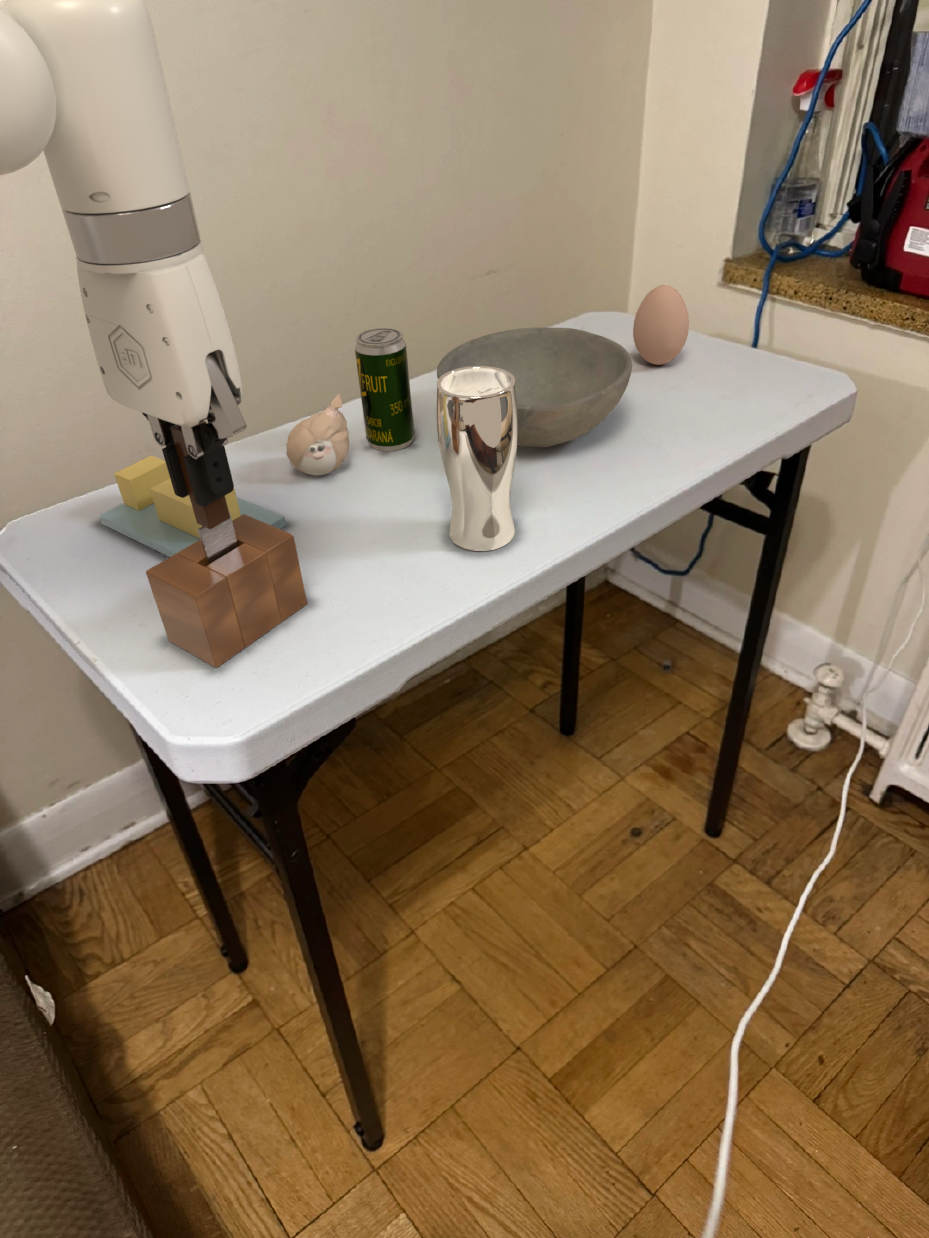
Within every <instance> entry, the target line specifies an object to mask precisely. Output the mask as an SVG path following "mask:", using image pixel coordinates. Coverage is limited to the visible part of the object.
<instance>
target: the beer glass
mask: <svg viewBox="0 0 929 1238" xmlns="http://www.w3.org/2000/svg"><path fill="white" fill-rule="evenodd" d="M436 427H437V428H436V429H437V439H438V446H439V451H440V456H441V460H442V465H443V469H444V472H445V473H444V474H445V477H446V480H447V483H448V488H449V492H450V498H451V520H450V523H449V537H450V540H451V542H453V544H455V545H456V546H457V547H459V548H462V549H464V550H468V551H472V552H489V551H494V550H498V549H500V548H502V547H505V546H506V545H507V544H509V543H510V542H511V541H512V540H513V539H514V537H515V533H516V530H515V523H514V519H513V515H512V510H511V500H510V498H511V497H510V496H511V488H512V483H513V475H514V471H515V465H516V459H517V453H518V446H519V445H518V410H517V399H516V389H515V378H514V376H513V375H512V374H511V373H510V372H508V371H506V370H503V369H500V368H496V367H489V366H470V367H463V368H458V369H455V370H452V371H449V372H447V373H445V374H443V375H442V376H441V377H440V378H439V379H438V378H437V380H436Z"/></svg>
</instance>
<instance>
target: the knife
mask: <svg viewBox="0 0 929 1238" xmlns="http://www.w3.org/2000/svg"><path fill="white" fill-rule="evenodd" d="M207 423H208V422H207V420H204V421H202V422H199V423H198V424H197V426H198V430H200V429H201V427H202V426H203V425H204V424H207ZM170 429H171V433H172V437H173V440H174V444H175V447H176V451H177V454H178V458H179V461H180V465H181V468H182V472H183V475H184V479H185V482H186V486H187V490H188V493H189V497H190V500H191V504H192V507H193V511H194V515H195V518H196V522H197V524H199V525H201V526H202V527H200V528H199V529H197V530H198V534H199V537H200V541H201V544H202V548H203V551H204V555H205V558H206V562H207V565H209V564H211V563H212V562H214V561H216V560H217V559H219V558H221V557H222V556H224V555H226V554H227V553H229V552H231V551H232V550H234V549H236V548H237V547H238V543H237V539H236V535H235V531H234V527H233V523H232V519H231V515H230V513H229V510H228V506H227V502H226V499H225V496H223V497H221V498H220V499H218V500H216V501H214V502H212V503H211V504H209V505H207V506H205V507H202V506H200V505H198V504H196V501H195V498H194V494H193V491H192V487H191V483H190V480H189V476H188V473H187V469H186V465H185V462H184V458H183V457H185V456H187V455H189V453H188V451H187V449H186V445H185V441H184V437H183V433H182V429H181V426H179V425H176V424H175V425H173V426H171V427H170Z"/></svg>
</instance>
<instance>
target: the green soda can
mask: <svg viewBox="0 0 929 1238" xmlns="http://www.w3.org/2000/svg"><path fill="white" fill-rule="evenodd" d="M407 349H408V348H407V342H406V341H405V339H404V333H403V332H402V331H401V330H400V329H397V328H392V327H376V328H370V329H367V330H363V331H361V332H359V333H358V334H357V335H356V336H355V346H354V355H355V363H356V369H357V375H358V385H359V392H360V400H361V407H362V414H363V415H362V416H363V422H364V423H363V424H364V430H365V431H364V432H365V438H366V440H367V442H368V444H369V446H370V448H372V449H374V450H376V451H380V452H396V451H400V450H403V449H406V448H407V447H409V446H410V445H412V442H413V440H414V438H415V425H414V413H413V403H412V393H411V382H410V373H409V372H410V371H409V363H408V362H409V361H408V352H407V351H408V350H407Z"/></svg>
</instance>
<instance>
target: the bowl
mask: <svg viewBox="0 0 929 1238" xmlns="http://www.w3.org/2000/svg"><path fill="white" fill-rule="evenodd" d="M470 366H489V367H496V368H500V369H503V370H506V371H508V372H510V373H511V374H512V375H513V376H514V378H515V389H516V399H517V410H518V445H517V446H520V447H526V448H547V447H548V448H549V447H553V446H557V445H560V444H561V445H562V444H563V443H566V442H569V441H572V440H575V439H577V438H579V437H582V436H585V434H587V433H588V432H590V431H591V430H593V429H595V428H596V427H597V426H599V424H601V422H603V421H604V420H605V419H606V418H607V416H608V415H609V414H610V413H611V412H612V411H613V410H614V409H615V407H616V406H617V405H618V403H619V402H620V401H621V399H622V398H623V395H624V394H625V392H626V390H627V387H628V385H629V383H630V379H631V375H632V371H633V360H632V357H631V355H630V353H629V352H628V350H627V349H626V348H625V347H624V346H623V345H621V344H619V342H617V341H614V340H613V339H610V338H607V337H605V336H602V335H600V334H596V333H592V332H589V331H586V330H582V329H577V328H571V327H523V328H522V327H521V328H514V329H507V330H502V331H498V332H494V333H489V334H486V335H482V336H479V337H476V338H473V339H471V340H468V341H466V342H464V343H462V344H460V345H457V346H456V347H454V348H452V349H451V350H450V351H448V352H447V353H446V354H445V355H444V356H443V357H442V358H441V360H440V361H439V363H438V365H437V367H436V377H437V380H438V379H439V378H440V377H441V376H442V375H443V374H445V373H447V372H449V371H452V370H455V369H458V368H463V367H470Z"/></svg>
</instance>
